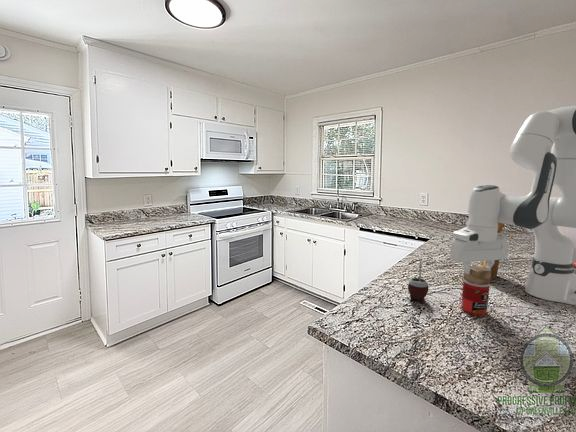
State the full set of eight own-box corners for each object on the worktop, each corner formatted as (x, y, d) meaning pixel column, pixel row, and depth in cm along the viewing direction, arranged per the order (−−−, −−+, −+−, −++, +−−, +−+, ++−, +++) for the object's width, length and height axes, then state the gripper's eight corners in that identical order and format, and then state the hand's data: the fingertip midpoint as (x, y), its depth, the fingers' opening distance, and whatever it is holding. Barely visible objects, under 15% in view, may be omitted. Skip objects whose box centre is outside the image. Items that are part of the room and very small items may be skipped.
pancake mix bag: (503, 274, 142) (510, 216, 138) (492, 285, 129) (499, 221, 125) (487, 271, 147) (493, 215, 143) (475, 280, 134) (481, 219, 130)
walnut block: (476, 277, 107) (477, 265, 106) (489, 283, 102) (491, 270, 101) (463, 278, 106) (464, 266, 105) (476, 284, 100) (477, 271, 100)
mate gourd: (415, 305, 109) (418, 265, 107) (402, 296, 117) (404, 259, 115) (432, 303, 111) (435, 264, 109) (418, 294, 119) (420, 258, 117)
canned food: (474, 317, 100) (477, 286, 99) (455, 307, 108) (458, 278, 106) (492, 314, 102) (495, 283, 101) (472, 304, 110) (475, 276, 108)
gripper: (498, 230, 106) (494, 268, 108) (448, 232, 102) (445, 271, 104) (515, 234, 100) (510, 273, 102) (462, 236, 96) (458, 277, 98)
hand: (477, 272), depth 103 cm, fingers open, 6 cm apart
